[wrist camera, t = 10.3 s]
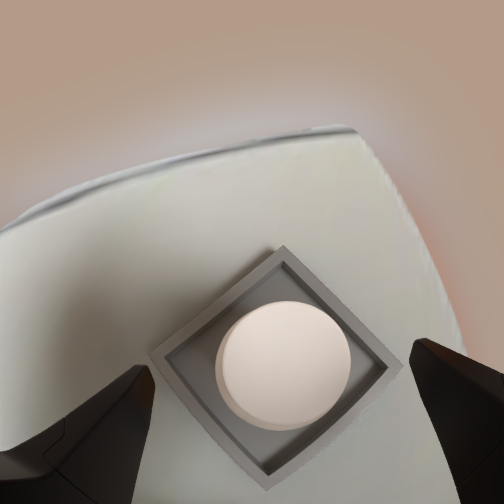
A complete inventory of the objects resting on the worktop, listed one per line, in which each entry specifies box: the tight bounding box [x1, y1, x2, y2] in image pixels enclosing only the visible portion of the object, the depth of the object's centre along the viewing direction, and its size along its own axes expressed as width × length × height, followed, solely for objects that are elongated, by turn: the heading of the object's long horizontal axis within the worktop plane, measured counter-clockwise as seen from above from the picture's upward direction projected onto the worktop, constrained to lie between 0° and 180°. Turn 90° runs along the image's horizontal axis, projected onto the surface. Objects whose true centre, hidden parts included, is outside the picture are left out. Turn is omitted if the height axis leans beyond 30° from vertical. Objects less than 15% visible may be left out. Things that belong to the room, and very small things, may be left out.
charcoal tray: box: [148, 245, 404, 491], centre depth 16 cm, size 12×12×2 cm
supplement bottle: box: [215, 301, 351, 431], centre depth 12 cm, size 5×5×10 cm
